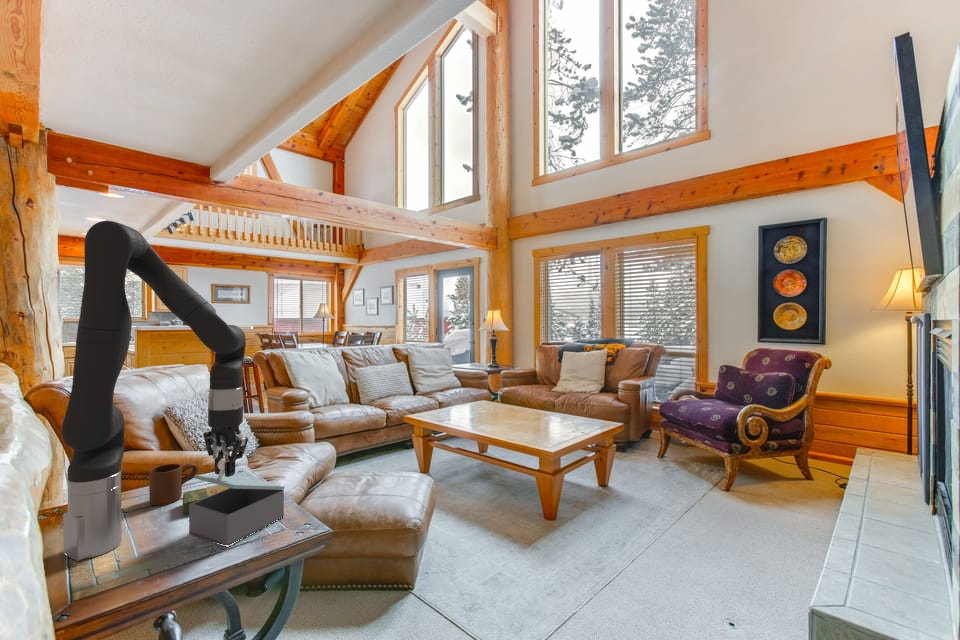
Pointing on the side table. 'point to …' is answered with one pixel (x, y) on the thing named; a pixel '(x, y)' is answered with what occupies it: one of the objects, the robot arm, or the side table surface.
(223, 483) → the lid flap
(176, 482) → the mug
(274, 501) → the storage box
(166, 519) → the side table surface
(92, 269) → the robot arm
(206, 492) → the carton
